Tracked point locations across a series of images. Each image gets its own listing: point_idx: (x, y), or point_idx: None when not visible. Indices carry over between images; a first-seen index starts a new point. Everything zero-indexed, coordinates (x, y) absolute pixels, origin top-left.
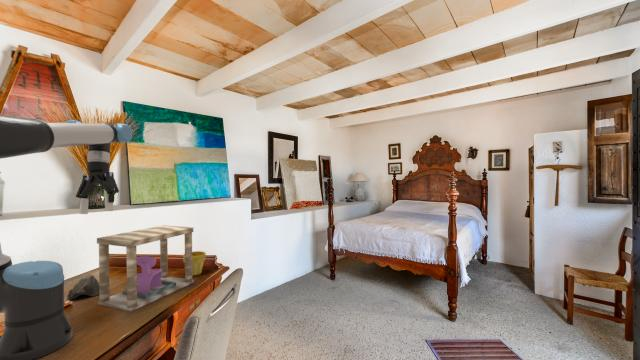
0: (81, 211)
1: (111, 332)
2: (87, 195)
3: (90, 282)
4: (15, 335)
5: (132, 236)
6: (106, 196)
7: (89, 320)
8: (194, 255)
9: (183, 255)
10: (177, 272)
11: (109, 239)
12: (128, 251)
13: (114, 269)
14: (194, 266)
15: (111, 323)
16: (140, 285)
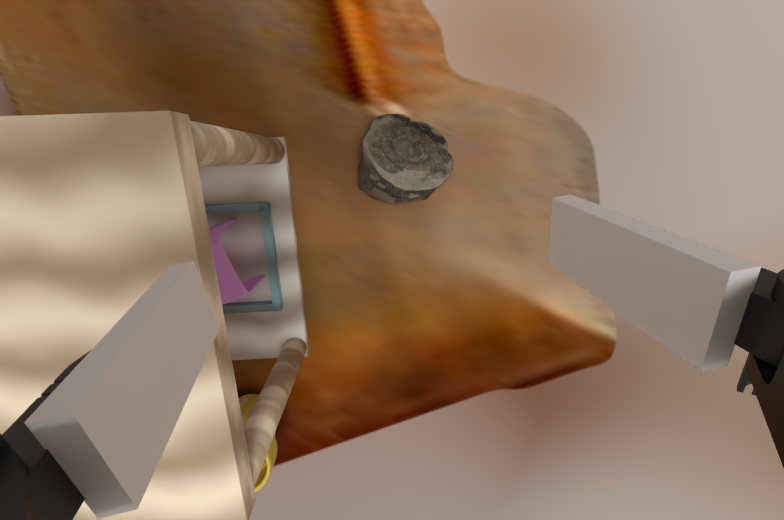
0: (569, 210)
1: (42, 37)
2: (770, 395)
3: (366, 162)
4: None
5: (16, 236)
6: (67, 386)
7: (180, 57)
8: (262, 472)
9: None
10: (315, 397)
11: (36, 116)
12: None
13: (555, 341)
14: None
15: (102, 71)
16: (212, 233)
